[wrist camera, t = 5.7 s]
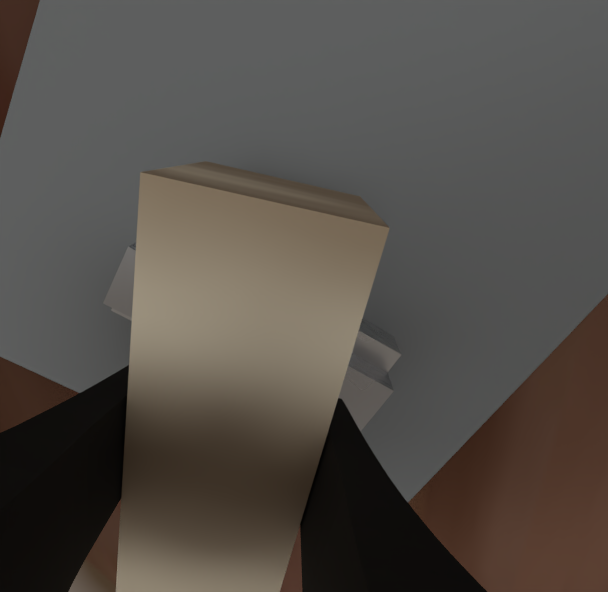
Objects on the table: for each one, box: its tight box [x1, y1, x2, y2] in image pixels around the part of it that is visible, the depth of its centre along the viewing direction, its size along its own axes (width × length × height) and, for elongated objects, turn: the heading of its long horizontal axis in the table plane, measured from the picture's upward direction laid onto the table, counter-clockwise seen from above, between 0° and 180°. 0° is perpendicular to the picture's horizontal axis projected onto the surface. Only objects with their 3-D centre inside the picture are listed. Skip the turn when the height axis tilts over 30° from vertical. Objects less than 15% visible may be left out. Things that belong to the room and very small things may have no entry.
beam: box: [116, 161, 390, 592], centre depth 10 cm, size 12×4×4 cm, turn 168°
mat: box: [0, 0, 608, 502], centre depth 14 cm, size 22×24×1 cm
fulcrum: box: [103, 243, 402, 431], centre depth 14 cm, size 10×4×3 cm, turn 59°
